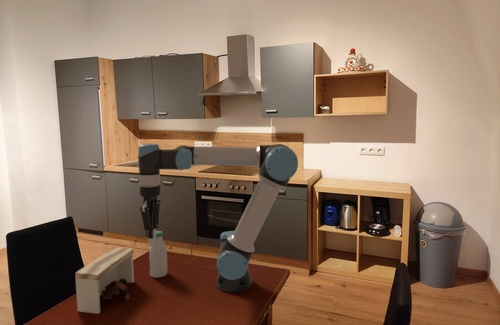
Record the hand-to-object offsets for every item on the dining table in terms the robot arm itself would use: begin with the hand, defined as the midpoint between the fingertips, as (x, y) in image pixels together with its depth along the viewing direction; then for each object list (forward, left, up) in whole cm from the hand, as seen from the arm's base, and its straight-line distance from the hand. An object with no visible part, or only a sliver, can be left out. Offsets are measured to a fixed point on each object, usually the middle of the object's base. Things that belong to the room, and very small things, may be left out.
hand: (152, 245), depth 143 cm
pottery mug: (+15, +1, -23) cm, 27 cm away
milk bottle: (+8, -22, -23) cm, 32 cm away
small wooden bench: (+19, 0, -22) cm, 29 cm away
